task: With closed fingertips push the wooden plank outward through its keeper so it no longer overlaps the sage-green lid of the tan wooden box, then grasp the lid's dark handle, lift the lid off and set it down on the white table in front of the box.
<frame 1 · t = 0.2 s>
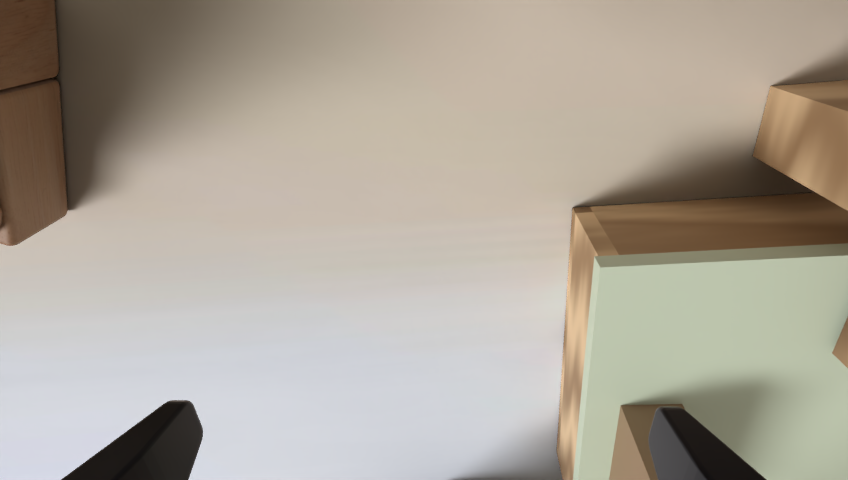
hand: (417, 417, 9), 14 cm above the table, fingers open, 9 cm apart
lid: (716, 419, 22), point 5 cm above the table, touching tan wooden box
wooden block: (29, 102, 21), on the table
tan wooden box: (672, 345, 26), on the table
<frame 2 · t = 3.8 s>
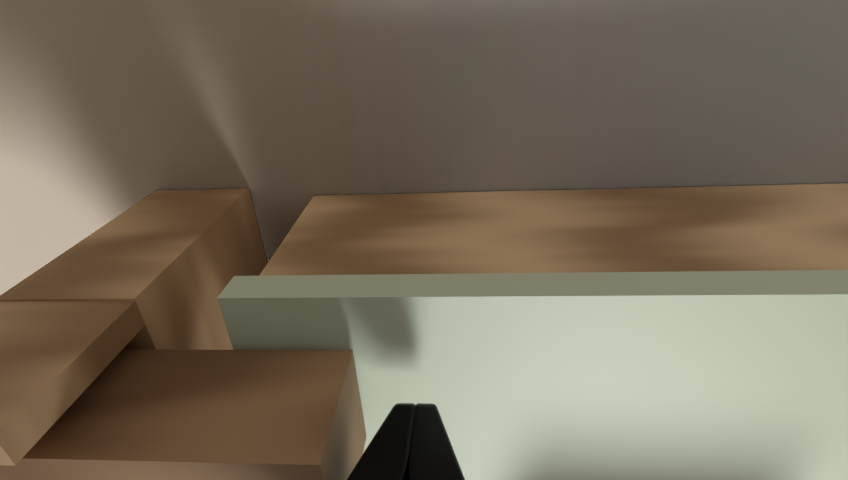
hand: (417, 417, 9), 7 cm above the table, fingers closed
lid: (637, 475, 12), point 5 cm above the table, touching tan wooden box
tan wooden box: (588, 345, 16), on the table
wooden plank: (118, 443, 9), point 7 cm above the table, slide at 1.7 cm, touching gripper
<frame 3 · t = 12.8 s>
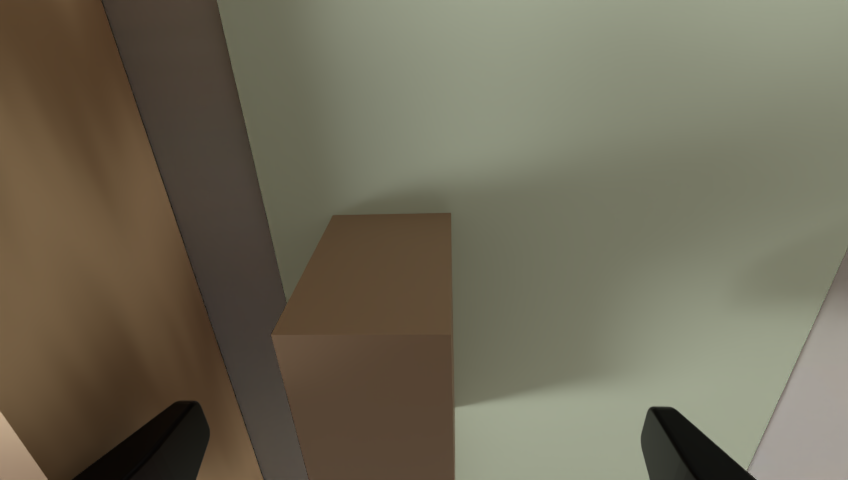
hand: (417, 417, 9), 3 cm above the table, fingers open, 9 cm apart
lid: (540, 270, 12), on the table
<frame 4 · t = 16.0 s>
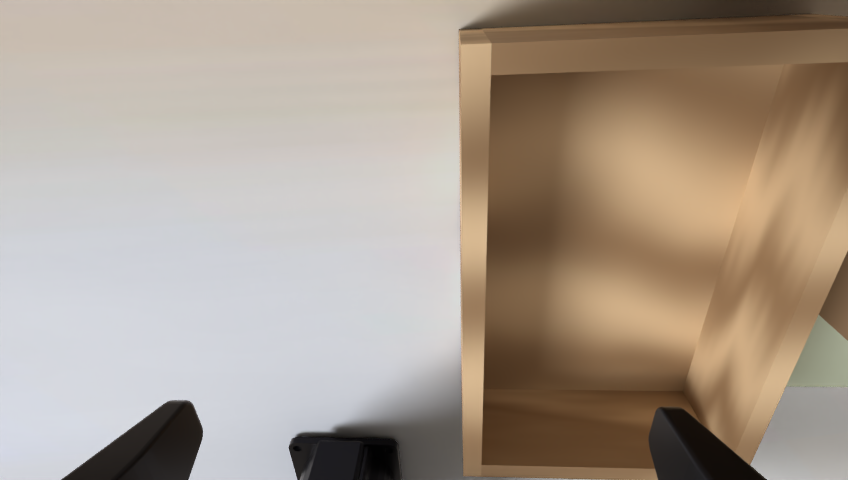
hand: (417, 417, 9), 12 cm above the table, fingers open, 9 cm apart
tan wooden box: (596, 246, 20), on the table
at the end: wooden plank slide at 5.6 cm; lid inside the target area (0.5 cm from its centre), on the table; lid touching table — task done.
